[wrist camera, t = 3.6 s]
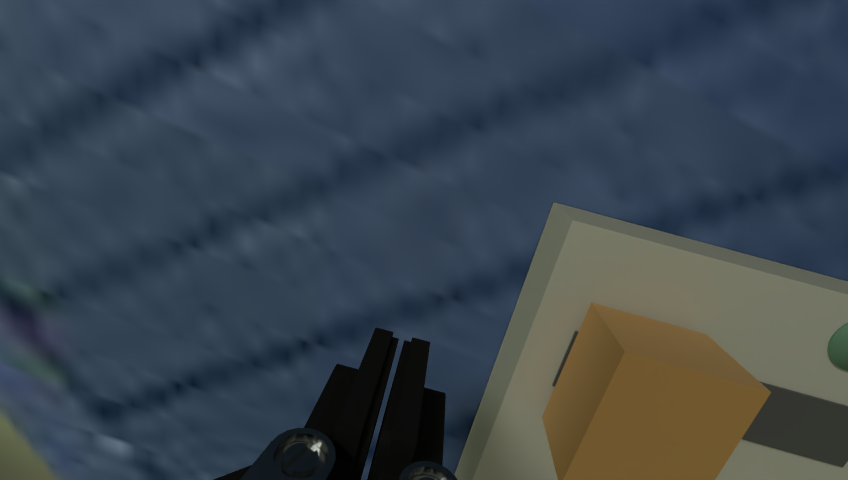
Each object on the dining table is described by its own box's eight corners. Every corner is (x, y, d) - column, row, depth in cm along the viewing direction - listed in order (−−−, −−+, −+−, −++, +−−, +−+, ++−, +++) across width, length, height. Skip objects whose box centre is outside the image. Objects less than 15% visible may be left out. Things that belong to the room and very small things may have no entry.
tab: (706, 334, 13) (771, 392, 10) (644, 445, 15) (687, 523, 12) (591, 302, 13) (624, 351, 11) (542, 417, 15) (559, 486, 12)
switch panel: (898, 295, 16) (1000, 336, 13) (675, 614, 22) (708, 692, 19) (553, 202, 16) (573, 221, 13) (429, 542, 22) (423, 607, 19)
